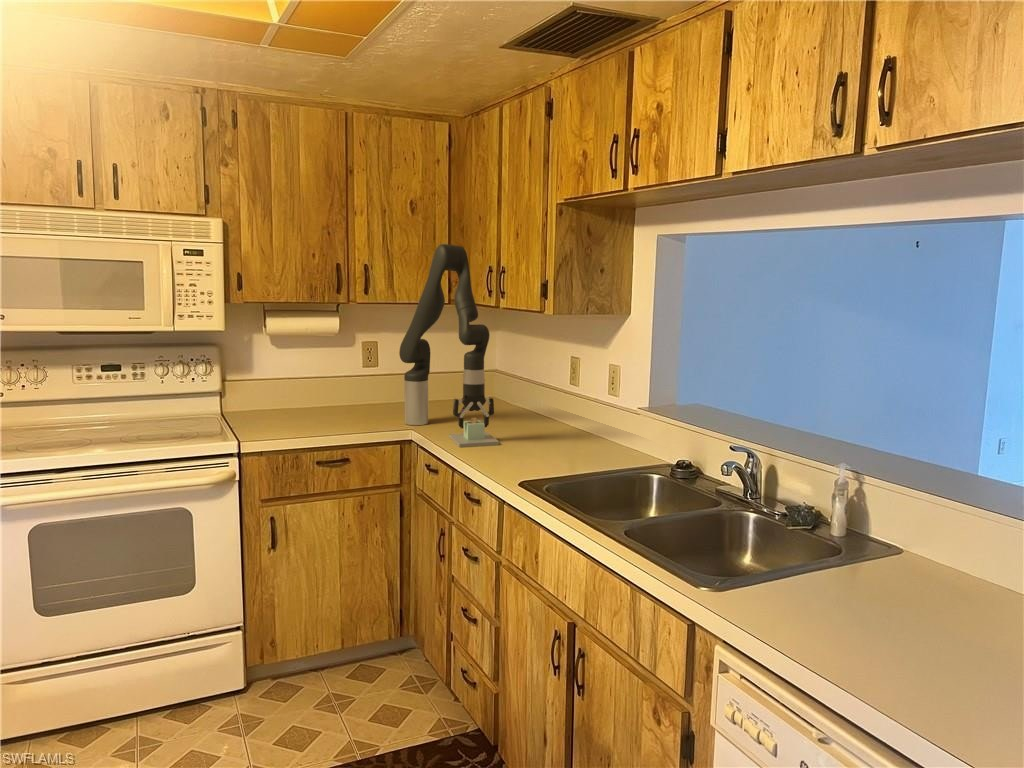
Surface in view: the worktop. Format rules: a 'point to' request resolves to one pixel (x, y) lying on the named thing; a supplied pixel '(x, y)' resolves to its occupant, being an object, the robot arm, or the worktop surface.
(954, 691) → the worktop surface
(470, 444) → the board
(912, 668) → the worktop surface
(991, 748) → the worktop surface
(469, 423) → the collar
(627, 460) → the worktop surface
